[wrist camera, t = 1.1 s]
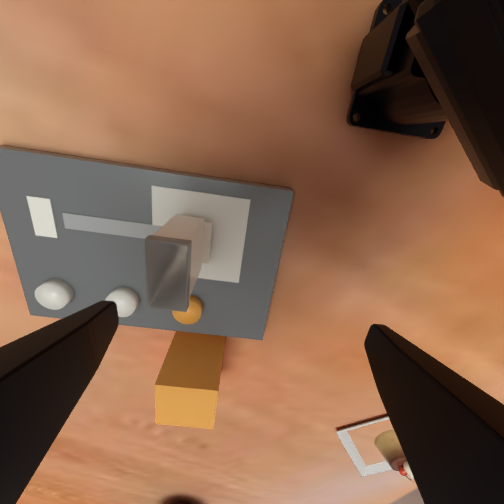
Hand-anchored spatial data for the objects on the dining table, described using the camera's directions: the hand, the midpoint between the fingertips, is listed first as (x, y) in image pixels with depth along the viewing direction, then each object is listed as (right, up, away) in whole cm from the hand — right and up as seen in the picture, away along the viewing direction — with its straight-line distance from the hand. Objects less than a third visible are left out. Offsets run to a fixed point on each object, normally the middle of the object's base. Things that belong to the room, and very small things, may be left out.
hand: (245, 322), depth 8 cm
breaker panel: (-8, +2, +12) cm, 15 cm away
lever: (-4, +3, +10) cm, 11 cm away
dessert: (+19, -22, +24) cm, 38 cm away
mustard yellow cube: (-5, -8, +17) cm, 19 cm away
